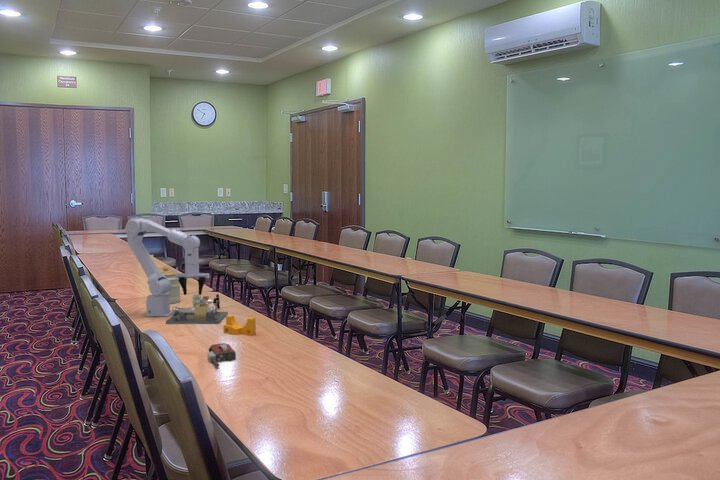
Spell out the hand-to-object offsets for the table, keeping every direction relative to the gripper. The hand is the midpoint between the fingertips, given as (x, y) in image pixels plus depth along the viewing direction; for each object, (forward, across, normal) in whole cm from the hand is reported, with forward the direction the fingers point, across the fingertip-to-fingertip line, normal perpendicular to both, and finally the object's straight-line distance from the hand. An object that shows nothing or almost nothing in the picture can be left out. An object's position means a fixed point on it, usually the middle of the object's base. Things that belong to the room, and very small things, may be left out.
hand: (192, 294), depth 260 cm
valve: (+10, +2, +14) cm, 17 cm away
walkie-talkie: (+10, +26, -64) cm, 69 cm away
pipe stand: (+9, +3, -6) cm, 12 cm away
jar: (+10, -20, +30) cm, 38 cm away
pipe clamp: (+10, +26, -31) cm, 41 cm away
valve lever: (+3, +5, -2) cm, 7 cm away
